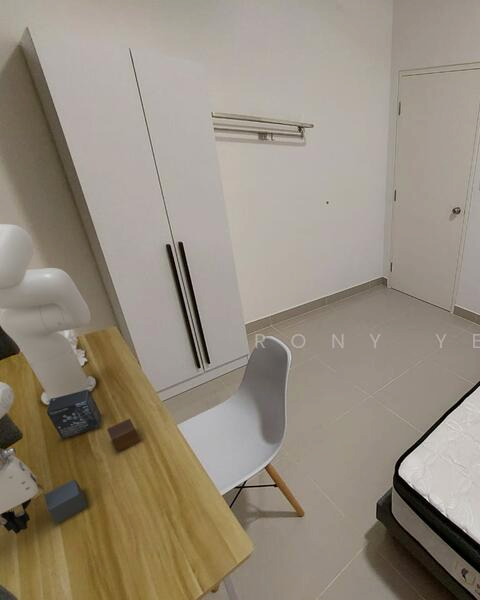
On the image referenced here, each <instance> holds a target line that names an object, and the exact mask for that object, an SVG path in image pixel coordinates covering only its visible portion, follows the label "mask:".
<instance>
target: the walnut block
mask: <svg viewBox="0 0 480 600" xmlns="http://www.w3.org/2000/svg"><path fill="white" fill-rule="evenodd" d="M106 430H107V432H108V435H109V437H110V440H111V442H112V443H113V446H114V447H115V450H116V452H117V453H120V452H122V451H124V450H126V449H128V448H130V447H132V446H134V445H136V444H138V443H140V442H141V439H140V437H139V434H138V431H137V430H136V428H135V426H134V424H133V421H132V419H131V418H127V419H125V420H123V421H121V422H119V423H118V422H117V424H114V425H111V426H109V427H108V428H106Z"/></svg>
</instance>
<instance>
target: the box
mask: <svg viewBox="0 0 480 600" xmlns="http://www.w3.org/2000/svg"><path fill="white" fill-rule="evenodd" d="M46 414H47V416H48V417H49V420H50V421H51V423H52V425H53V426H54V428H55V430H56V431H57V433H58V435H59V436H60V438H61V439H62V440H65V439H68V438H71V437H74V436H78V435H80V434H83V433H87V432H90V431H94V430H97V429H99V428H100V425H101V419H102V414H101V412H100V409H99V407H98V405H97V403H96V402H95V399H94V397H93V395H92V393H91V392H90V391H89V389H87V390H84V391H80V392H76V393H72V394H68V395H65V396H61V397H57V398H52V399H50V403H49V405H47V409H46Z"/></svg>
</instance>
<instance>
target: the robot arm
mask: <svg viewBox="0 0 480 600" xmlns="http://www.w3.org/2000/svg"><path fill="white" fill-rule="evenodd" d="M33 254H34V242H33V239H32V237H31V236H30V234H29V233H28V231H26V230H25V229H24V228H22V227H21V226H19V225H16V224H11V223H0V309H1V310H2V309H3V310H2V311H1V312H0V327H1V329H2V331H4V333H5V334H6V335H8V337H9V338H10V339H11V340H12V341H13V342H14V343H15V344H16V345H17V347H18V348H19V350H20V352H21V353H22V354H23V356H24V358H25V359H26V361H27V363H28V364H29V366H30V368H31V370H32V371H33V373H34V375H35V377H36V378H37V380H38V382H39V383H40V385H41V387H42V388H43V390H44V391H43V392H42V394H41V396H40V400H41V402H42V403H43V404H44V405H46V406H49V403H50V399H52V398H57V397H61V396H65V395H68V394H72V393H76V392H80V391H84V390H87V389H89V391H90V393H91V392H92V391H93V390H94V389H95V387H96V385H97V380H96V379H95V377H93V376H91V375H86V374H85V371H84V369H83V366H81V365H80V363H79V361H78V359H77V357H76V355H75V353H74V351H73V349H72V347H71V345H70V343H69V341H68V340H67V338H66V337H64V336H63V335H61V334H60V333H58V332H60V331H65V330H70V329H73V330H75V329H80V328H83V327H85V326H86V325H88V324H89V323H90V322H91V311H90V309H89V306H88V304H87V303H86V301H85V300H84V298H83V296H82V294H81V293H80V291H79V289H78V288H77V286H76V284H75V283H74V280H73V279H72V278H71V276H70V275H69V274H68V273H67V272H66V271H64V269H60V268H57V267H45V268H34V269H28V268H29V265H30V263H31V260H32V256H33ZM14 401H15V393H14V390H13V389H12V387H11V386H10V385H9V384H8V383H6V382H3V381H0V420H2V418H3V417H4V416H5V415H6V414H7V413H8V412H9V410H10V409H11V407H12V405H13V404H14ZM16 454H17V451H16V448H15V447H13V446H12V447H10V448H6V449H4V448H2V447H0V526H3V528H5V530H7V532H10V531H12V532H14V534H15V535H18V534H19V533H21V532H22V531H25V530H27V529H28V522H29V521H31V518H30V517H31V516H30V514H29V513H28V512H27V511H26V509H27V508H28V506H29V505H30V504H31V502H32V501H33V500H35V499H36V498H38V497H40V496H41V495H43V494H44V493H45V487H44V486H43V485H41V484H39V483H38V478H37V476H36V475H35V474H34V473H33V471H32V470H31V469H30V468H29V467H28V466H27V465H26V464H25V463H24V462H23V461H22V460H21V459H20V458H18V457H17V456H15V455H16ZM11 509H12V510H11Z"/></svg>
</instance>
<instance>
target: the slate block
mask: <svg viewBox="0 0 480 600" xmlns="http://www.w3.org/2000/svg"><path fill="white" fill-rule="evenodd" d="M82 489H83V488H81V486H80V484H79V483H78V481H77V479H75V478H74V479H72V480H70V481H68V482H67V483H64V484H62V485H60V486H58V487H56V488H54V489H53V490H51V491H48V492H46V493H45V494H44V501H45V505H46V510H47V512H48V514H49V515H50V516H51V517H52V519H53V520H54V521H55V523H56V524H57V525H58V524H60V523H63V522H65V520H67V519H69V518H71V517H72V516H74V515H77V514H78V513H80V512H82V511H83V510H85V509H87V508H88V503H87V500H86V497H85V493H84V491H83V490H82Z"/></svg>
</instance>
